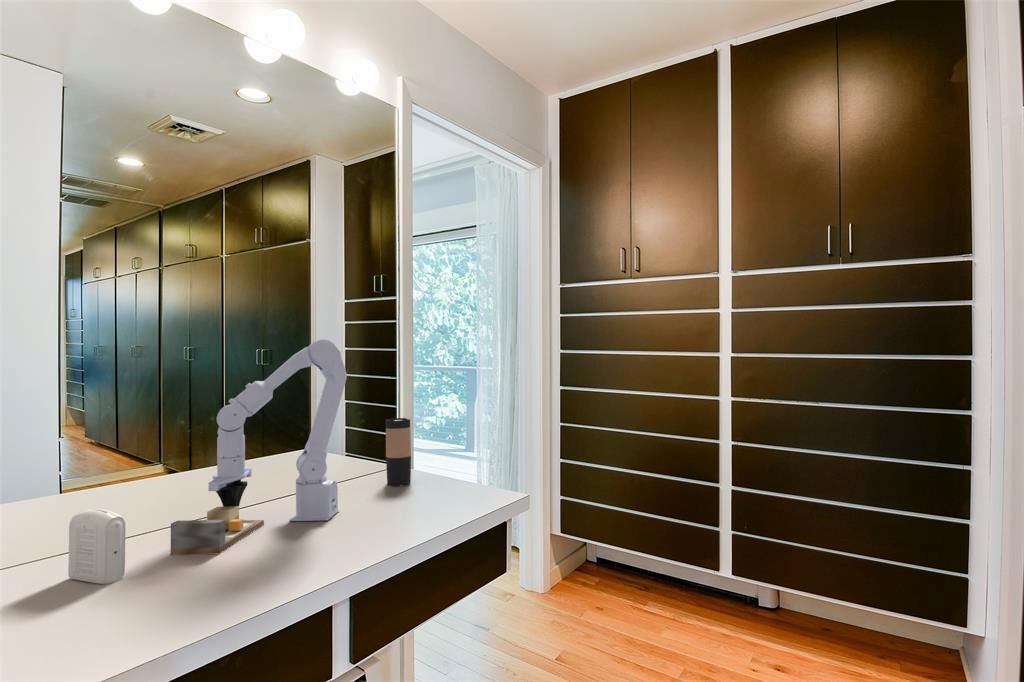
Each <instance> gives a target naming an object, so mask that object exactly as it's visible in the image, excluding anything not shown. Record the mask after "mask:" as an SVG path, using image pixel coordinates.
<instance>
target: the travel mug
mask: <svg viewBox="0 0 1024 682" xmlns="http://www.w3.org/2000/svg"><path fill="white" fill-rule="evenodd" d="M411 435H412V434H411V418H409V419H408V418H406V417H395V418H388V419H385V462H386V463H385V464H386V483H387V486H389V485H391V486H390V487H401V486H400V485H404V486H407V485H406V484H408V485H410V484H411V483H412V482H411V475H412V474H411V473H412V472H411V471H412V447H411V446H412V443H411V442H412V441H411V440H412V439H411ZM409 483H410V484H409Z"/></svg>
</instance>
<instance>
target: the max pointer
mask: <svg viewBox="0 0 1024 682" xmlns="http://www.w3.org/2000/svg"><path fill="white" fill-rule="evenodd" d="M243 520H244V519H242V518H241V519H240V518H239V519H233V520H231V521H229V531H240V530H242V529H243Z"/></svg>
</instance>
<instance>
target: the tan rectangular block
mask: <svg viewBox="0 0 1024 682" xmlns="http://www.w3.org/2000/svg"><path fill="white" fill-rule="evenodd" d="M233 519H240V505H239V506H226V507H223V506H216V507H215V508H214V507H213V508H212V509H210V510H208V511H206V520H225V530H229V521H231V520H233Z"/></svg>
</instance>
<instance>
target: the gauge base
mask: <svg viewBox="0 0 1024 682" xmlns="http://www.w3.org/2000/svg"><path fill="white" fill-rule="evenodd" d="M262 525H263V526H264V525H265V519H250V520H249V519H247V520H246V519H245V520H244V519H243V529H242V530H240V531H229V530H225V520H207V519H204V520H203V519H200V520H198V519H195V520H194V519H193V520H192V519H191V520H185V519H184V520H175V521H173V522H172V523H170V555H171V554H179V555H211V554H210V553H220V554H221V552H222V551H223V552H225V551H226V550H228V549H229V548H231V547H232V546H234V545H235V544H237V543H239V542H240V541H242V540H243V539H245V538H246V537H248V536H250V535H251V534H252V533H254V532H255V531H254V530H256V529H257V530H258V528H259V527H260V528H262V527H263V526H262ZM261 526H262V527H261ZM260 528H259V529H260ZM257 530H256V531H257ZM253 531H254V532H253ZM251 532H252V533H251ZM250 533H251V534H250ZM247 535H248V536H247ZM244 537H245V538H244ZM242 538H243V539H242ZM241 539H242V540H241ZM239 540H240V541H239ZM238 541H239V542H238ZM236 542H237V543H236ZM234 543H235V544H234ZM233 544H234V545H233ZM231 545H232V546H231ZM230 546H231V547H230ZM228 547H229V548H228ZM227 548H228V549H227ZM225 549H226V550H225ZM224 550H225V551H224ZM223 552H222V553H223Z"/></svg>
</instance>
